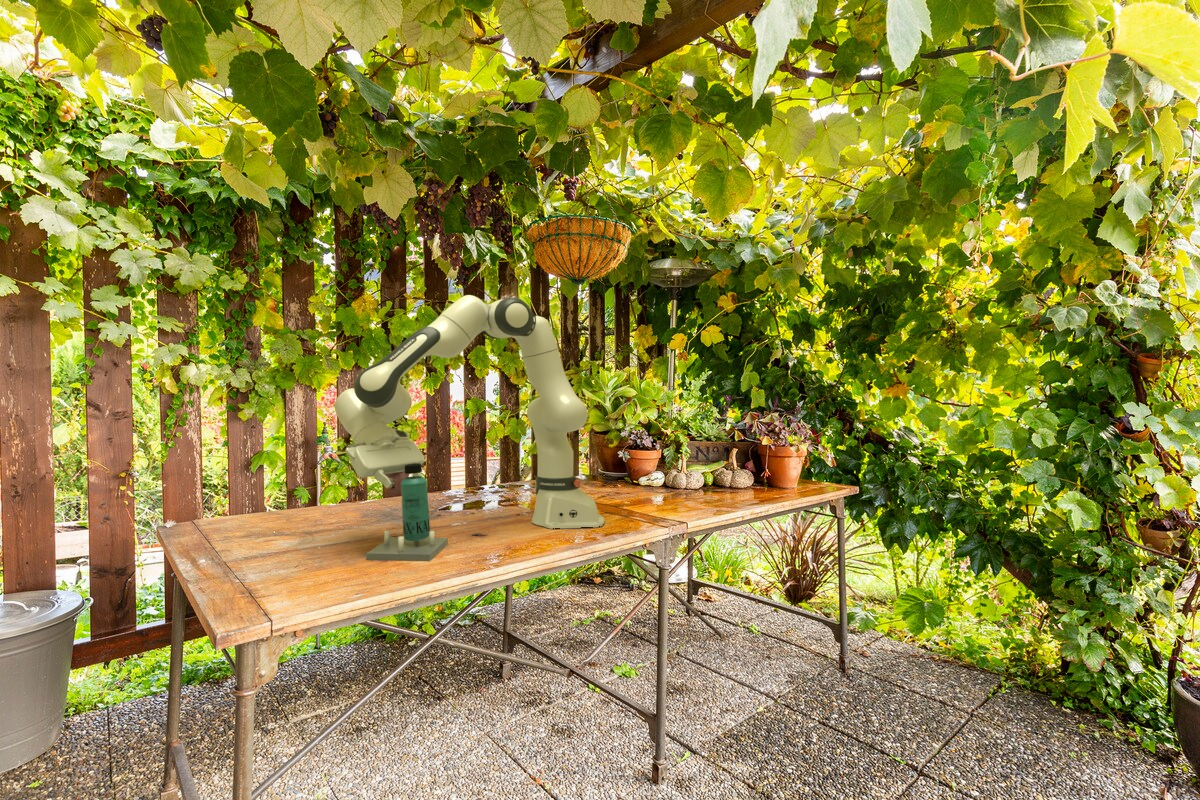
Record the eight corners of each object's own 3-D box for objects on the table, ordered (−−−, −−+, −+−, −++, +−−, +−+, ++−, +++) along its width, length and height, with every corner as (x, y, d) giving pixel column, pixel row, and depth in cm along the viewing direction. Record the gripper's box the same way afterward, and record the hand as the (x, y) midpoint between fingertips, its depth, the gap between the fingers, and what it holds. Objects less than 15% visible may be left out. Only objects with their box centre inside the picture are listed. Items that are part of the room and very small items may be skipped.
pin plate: (448, 543, 145) (448, 524, 144) (429, 560, 130) (429, 539, 129) (390, 542, 145) (391, 523, 145) (366, 559, 130) (366, 538, 130)
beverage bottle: (403, 541, 140) (397, 463, 139) (430, 537, 143) (425, 460, 142) (404, 548, 134) (398, 467, 133) (433, 544, 137) (427, 464, 136)
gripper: (349, 436, 131) (379, 480, 127) (411, 431, 150) (439, 470, 146) (335, 454, 133) (365, 498, 129) (399, 447, 152) (426, 485, 148)
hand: (405, 483), depth 137 cm, fingers open, 8 cm apart
